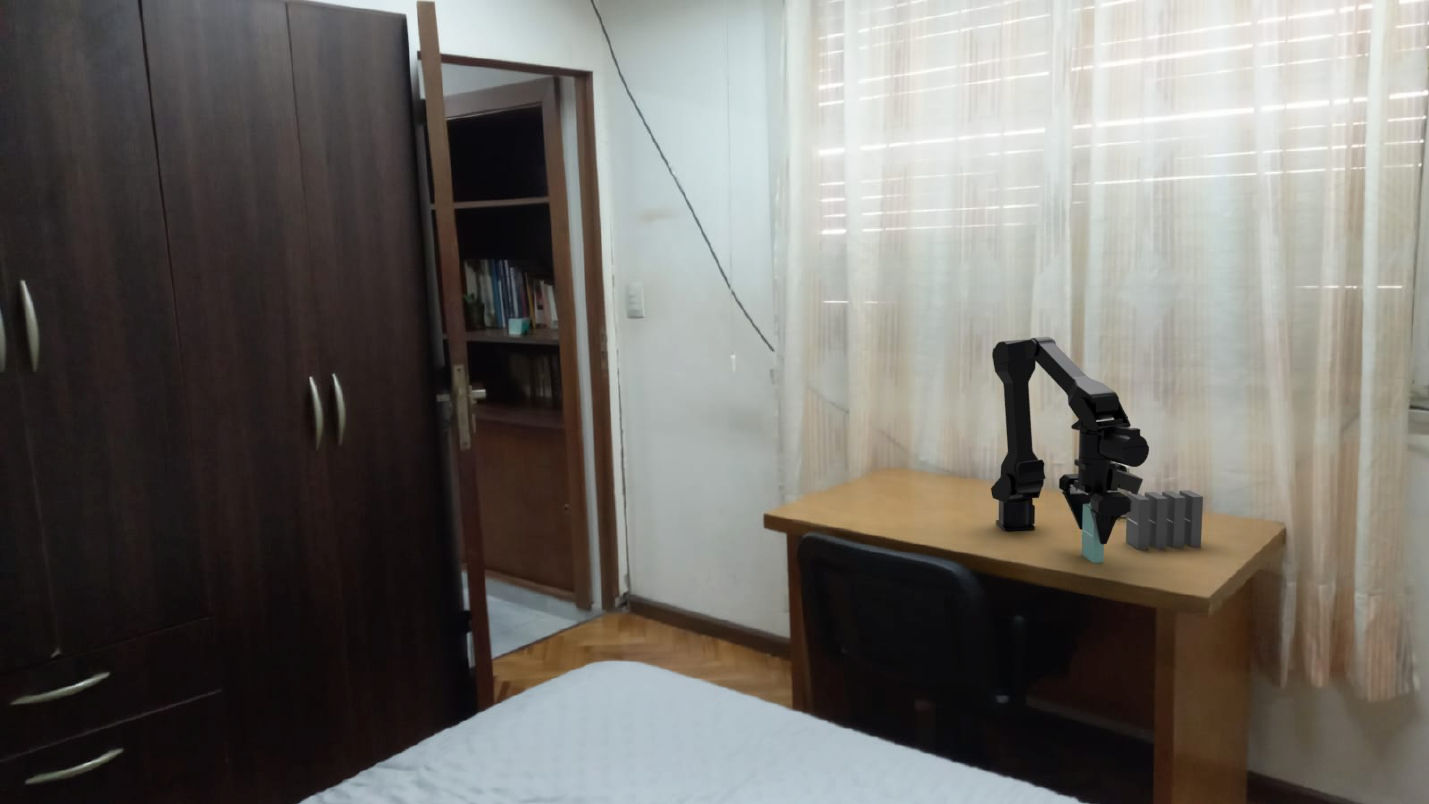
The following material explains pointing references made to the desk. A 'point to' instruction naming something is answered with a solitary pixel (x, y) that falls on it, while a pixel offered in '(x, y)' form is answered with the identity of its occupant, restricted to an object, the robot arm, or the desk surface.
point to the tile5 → (1192, 518)
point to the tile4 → (1175, 519)
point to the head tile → (1091, 538)
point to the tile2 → (1138, 522)
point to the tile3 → (1157, 520)
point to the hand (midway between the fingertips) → (1092, 536)
